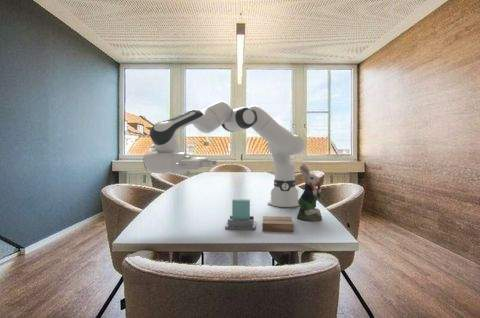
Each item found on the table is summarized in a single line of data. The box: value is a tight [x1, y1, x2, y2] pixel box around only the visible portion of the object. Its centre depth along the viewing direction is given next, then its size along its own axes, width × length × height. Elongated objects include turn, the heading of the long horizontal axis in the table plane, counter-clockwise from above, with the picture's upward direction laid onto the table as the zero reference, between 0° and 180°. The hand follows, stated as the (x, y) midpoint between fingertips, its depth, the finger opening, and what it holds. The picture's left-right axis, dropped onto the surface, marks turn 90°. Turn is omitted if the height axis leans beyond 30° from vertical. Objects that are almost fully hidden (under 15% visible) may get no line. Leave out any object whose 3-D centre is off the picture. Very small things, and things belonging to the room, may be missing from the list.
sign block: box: [231, 198, 251, 220], centre depth 130 cm, size 3×7×10 cm, turn 84°
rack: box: [224, 214, 257, 231], centre depth 130 cm, size 10×12×4 cm
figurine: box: [296, 163, 323, 222], centre depth 143 cm, size 11×13×25 cm
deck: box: [261, 215, 294, 233], centre depth 129 cm, size 12×12×3 cm
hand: (214, 163), depth 130 cm, fingers open, 8 cm apart
